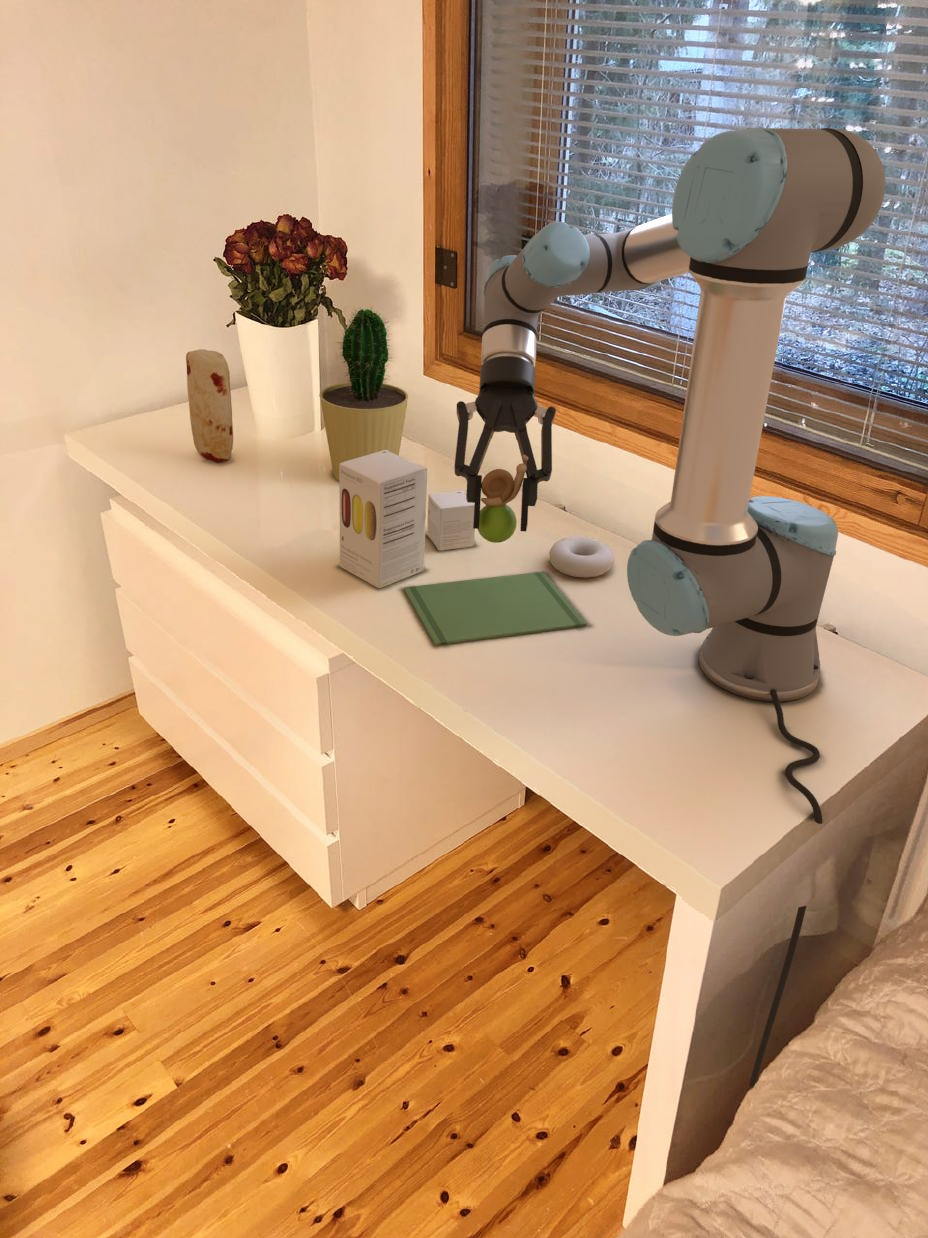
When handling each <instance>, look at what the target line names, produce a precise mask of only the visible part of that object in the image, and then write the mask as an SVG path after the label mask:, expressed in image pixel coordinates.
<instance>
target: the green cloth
mask: <svg viewBox="0 0 928 1238" xmlns="http://www.w3.org/2000/svg"><path fill="white" fill-rule="evenodd" d="M403 590H404V593H405V594H406V596H407V599H408V600H409V601H410V604H411V606H412V607H413V609H414V610H415V612H416V615H417V616H418V618H419V619H420V621H421V623H422V624H423V626H424V628H425V630H426V632H427V634H428V635H429V637H430V639H431V640H432V643H433V644H434V646H443V645H450V644H458V643H465V642H473V641H481V640H488V639H489V640H490V639H496V638H504V637H505V638H506V637H511V636H520V635H526V634H535V633H542V632H549V631H557V630H566V629H572V628H578V627H586V626H587V622H586V621H585V620H584V619H583V617H582V616H581V614H579V612H578V611H577V610H576V608H574V606H573V605H572V603H571V602H570V601H569V600H568V599H567V598H566V596H565V595H564V594H563V593H562V591H561V590H560V589H559V587H558V586H557V585H556V584H555V583H554V582H553V580H552V579H551V578H550V577H549V576H548V574H547V573H546V572H545V571H536V572H529V573H528V572H527V573H521V574H511V575H510V574H509V575H503V576H502V575H501V576H493V577H483V578H475V579H468V580H466V579H465V580H458V581H449V582H439V583H432V584H431V583H430V584H421V585H412V586H404V587H403Z"/></svg>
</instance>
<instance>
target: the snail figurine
mask: <svg viewBox="0 0 928 1238" xmlns="http://www.w3.org/2000/svg"><path fill="white" fill-rule="evenodd" d="M522 457H523V458H524V461H525V460H526V463H527V460H528V457H527V456H526V455H523V456H522ZM522 457H521V458H522ZM526 469H527V467H526V465H525V464H524V463H523V462H522V463H519V464H518V465H516V468H515V470H516V471H515V472H516V473H515V477H514V478H513V475H512V474H511V473H510V472H509V471H508V470H507V469H506V470H505V469H502V468H495V469H493V470H490V471H488V473H486V474H485V476H484V477H483V478H482V484H481V493H482V494H483V495H484V496H485V497H481V501H480V502H482V503H483V504H484V505H485V506H483V507H481V508H480V519H479V529H477V531H478V534H479V535H480V536H481V537H482V539H484V540H486V541H487V542H490V543H495V544H496V543H497V544H499V543H503V542H505V541H507V540H509V539H510V538H511V537H512V536H513V535H514V533H515V532H516V529H517V523H518V521H517V516H516V513H515V512H514V510H513V509H512V508H511V507H510V506H509V505H507V504H508V503H510V502H512V501H513V500H514V499H515V498H516V497H517V496H518V495H519V493H520V490H521V489H522V485H523V479H524V478H525V475H526Z"/></svg>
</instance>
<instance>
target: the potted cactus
mask: <svg viewBox="0 0 928 1238" xmlns="http://www.w3.org/2000/svg"><path fill="white" fill-rule="evenodd" d="M373 306H374V305H372V307H370V309H369V308H365V309H364V308H361V307H360V306H359V310H357V308H356V307H355V306H354V305H353V307H354V313H353V312H352V310H350V311H351V313H352V314H351V315H350V318H351V319H347V320H348V323H349V325H348V327H347V328H344V329H345V330H341V329H340V331H341V332H344V334H342V336H343V337H342V338H340V341H337V342H336V344H340V346H339V350H341V351H340V354H341V355H340V356H339V358H340V360H341V361H343V364H344V365H343V366H345V369H347V371H345V374H344V375H342V376H343V378H348V379H344V380H346V381H345V382H339V383H335V384H332V385H329V386H327V387H324V388H323V389H321V391H320V392H319V395H318V396H319V398H320V405H321V410H322V417H323V423H324V428H325V433H326V441H327V447H328V451H329V458H330V463H331V470H332V473H333V477H334V478H335V479H336V480H337V481H339V482H340V477H339V464H340V463H342V462H345V461H348V460H352V459H356V458H359V457H362V456H366V455H369V454H373V453H376V452H379V451H383V450H388V451H390V452H392V453H394V454H396V455H398V456H400V451H401V443H402V438H403V432H404V425H405V419H406V414H407V410H408V409H407V407H408V399H409V394H408V393H407V392H406V390H404V389H403V388H400V387H398V386H396V385H393V384H388V383H387V382H386V381H390V379H388V378H387V377H389V378H391V376H390V375H386V374H385V373H386V368H387V367H389V364H387V363H388V362H391V360H392V359H393V358H394V355H391V354H389V350H390V349H391V348H388V347H390V344H388V342H389V341H390V339H388V338H389V334H388V332H389V329H388V328H389V327H391V324H390V325H389V326H387V327H386V324H388V323H389V322H390V320H388V321H387V318H384V319H383V317H381V313H380V314H379V313H378V312H374V310H372V308H374V307H373ZM352 316H353V317H352ZM391 335H393V334H392V333H391ZM392 362H394V361H393V360H392ZM385 376H387V377H385Z"/></svg>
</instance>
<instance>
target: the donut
mask: <svg viewBox="0 0 928 1238" xmlns="http://www.w3.org/2000/svg"><path fill="white" fill-rule="evenodd" d="M548 553H549V554H548V555H549V562H550V563H551V565H552V566H553V567H554V569H556V570H557V571H559V572H560V573H562V574H565V575H567V576H571V577H576V578H585V579H586V578H588V579H589V578H596V577H599V576H602V575H604V574H606V573H607V572H609V571H610V570H611V568H613V565H614V563H615V556H614V552H613V550H612V549H611V548H610V547H609V546H608V545H607V544H606V543H605V542H603V541H601V540H598V539H596V538H593V537H588V536H567V537H565V538H564V537H563V538H561V539H559V540H558V541H555V542H554V543H553V544H552V546H551V548H550V549H549V552H548Z"/></svg>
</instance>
